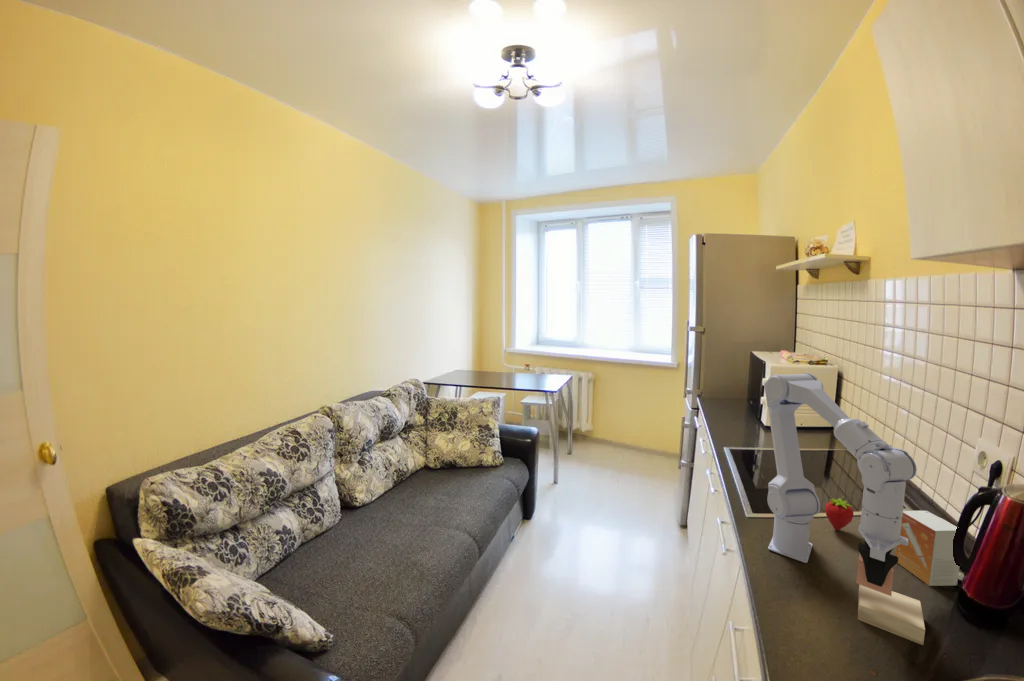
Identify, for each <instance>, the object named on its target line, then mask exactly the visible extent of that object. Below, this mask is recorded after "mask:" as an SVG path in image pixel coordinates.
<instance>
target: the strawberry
mask: <svg viewBox="0 0 1024 681" xmlns="http://www.w3.org/2000/svg"><path fill="white" fill-rule="evenodd" d="M842 498H844V496H841V498H840V497H839V498H837V499H836V498H832V497H831V498H830V499H829V498H828V499H827V500H828V502H826V504H825V507H824V510H825V515H826V517H827V519H828V522H829V523H830V524H831V526H832V527H833V529H834V530H835V531H840V530H842V529H843V528H845V527H846V526H848V525H849V524H851V522H852V520H853V518H854V516H855V515H854V509H853V508H854V506H852V505H850V504H849V503H847V502H848V501H847V500H842Z"/></svg>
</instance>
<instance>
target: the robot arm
mask: <svg viewBox="0 0 1024 681" xmlns="http://www.w3.org/2000/svg"><path fill="white" fill-rule="evenodd" d="M763 387H764V393H765V398H766V405H767V406H766V407H767V409H768V410H767V412H768V417H769V424H770V430H771V431H770V432H771V438H772V439H771V440H772V445H773V452H774V458H775V466H776V476H775V477H774V478H773V479H771V480H770V481H769V482H768V485H767V487H768V493H767V497H766V498H767V499H766V500H767V501H766V502H767V506H768V508H769V509H770V511H771V512H772V513H773V515H774V521H773V530H772V532H773V533H772V537H771V540H770V543H769V544H768V547H767V549H768V550H769V551H772V552H774V553H776V554H779V555H782V556H785V557H788V558H789V559H793V560H796V561H798V562H802V563H804V564H808V561H809V559H810V555H811V552H812V548H813V543H812V542H810V541H809V540H810V529H811V528H810V527H811V521H812V520H814V516H815V515H818V514H819V513H820V511H821V506H822V505H821V500H820V499H819V496H818V495H817V491H816V487H815V484H813V483H812V482H811V481H809V480H808V479H807V478H805V476H804V469H803V464H802V457H801V456H802V454H801V449H800V443H799V436H798V431H797V430H798V429H797V424H796V423H797V422H796V417H795V416H796V415H795V412H796V411H797V410H798V409H799V408H800V407H801V406H803V405H807V406H808V407H809V408H811V409H812V410H813V411H814V412H815V413H816V414H817V415H819V416H820V417H821V418H822V419H823V420H824V421H826V422H827V423H828V424H829V425H830V426H832V427H833V435H834V437H835V439H836V440H837V441H839V443H841V445H842V446H843V447H844V448H846V449H847V451H848V452H849V453H850V454H851V455H852V456H854V458H856V459H857V460H856V461H857V462H856V463H857V468H858V470H859V472H860V474H861V483H862V485H863V492H862V502H861V503H862V504H861V512H860V524H859V525H858V532H859V533H860V535H861V536H862V539H863V543H862V542H858V544H857V550H858V554H859V553H860V555H861V557H862V559H863V562H864V566H865V573H866V579H867V582H869V583H872V584H875V585H877V586H880V587H882V585H883V584H884V582H885V579H886V577H887V574H888V572H889V571H890V569H891V568H892V567H893V566H894V567H895V566H896V565H897V564H898V557H897V556H895V555H893V554H891V552H892V551H893V550H894V548H896V547H897V545H899V544H902V545H905V546H908V539H907V538H905V537H902V536H900V533H901V523H902V515H903V511H904V505H905V504H904V503H905V497H906V496H905V494H906V485H907V481H909V480H912V479H913V478H915V476H916V474H917V468H918V467H917V464H916V462H915V460H914V459H913V457H912V456H911V455H910V454H909V453H908V451H906V450H904V449H902V448H898V447H894V446H892V445H891V444H888V443H887V442H886V441H884V439H882V438H881V437H879V436H878V434H876V433H875V432H874V431H873V430H872V429H871V428H870V427H869V426H870V425H869V424H868V423H867V422H865V421H864V420H863V421H862V420H860V419H858V418H850V417H849V415H847V414H846V412H844V410H842V408H841V407H840V406H839V405H838V404H837V403H836V402H835V401H834V399H832V398H831V396H829V395H828V393H827V392H826V391H825V390H824V384H823V382H822V381H821V380H819V379H818V377H817V376H815V374H812V373H810V372H809V373H808V372H807V373H805V372H804V373H797V374H795V373H794V374H771V375H770V376H769V377H768V379H767V380H766V382H764V386H763Z"/></svg>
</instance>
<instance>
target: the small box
mask: <svg viewBox="0 0 1024 681" xmlns="http://www.w3.org/2000/svg"><path fill="white" fill-rule="evenodd" d="M957 527H958V526H956V525H955V524H952V523H951V522H949V521H947V520H946V519H944V518H941V517H939V516H938V515H936V514H934V513H932V512H930V511H928V510H903V515H902V523H901V533H900V536H902V537H905V538H907V539H908V546H905V545H902V544H899V545H897V546H896V547H895V548H896V549H895V555H894V556H897V557H898V563H897V564H898V565H899V566H901V567H902V568H904V569H905V570H906V571H908V572H909V573H911V574H913V575H914V577H916V578H918V579H919V580H920V581H922V582H924V583H925V584H926V585H927V586H929V587H933V586H935V587H938V586H939V587H941V586H942V587H944V586H945V587H946V586H947V587H949V586H950V587H951V586H952V587H953V586H955V587H956V586H957V585H958V581H959V573H960V572H959V571H960V566H958V565H956V563H955V561H954V557H953V539H954V536H955V533H956V529H957Z"/></svg>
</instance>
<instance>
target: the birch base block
mask: <svg viewBox="0 0 1024 681" xmlns="http://www.w3.org/2000/svg"><path fill="white" fill-rule="evenodd" d="M858 586H859V587H858V596H857V597H858V598H857V599H858V600H857V601H858V602H857V604H858V608H857V620H858V621H860V622H863V623H865V624H867V625H871V626H873V627H877V628H879V629H881V630H884V631H886V632H889V633H891V634H893V635H896V636H898V637H901V638H903V639H906V640H908V641H911V642H914V643H916V644H918V645H922V646H924V643H925V642H924V641H925V636H926V635H925V634H926V627H925V622H924V620H925V619H924V615H923V609H922V605H921V604H922V603H921V600H919V599H916V598H913V597H910V596H908V595H905V594H901V593H899V592H896V591H893V590H892V594H891V596H889V595H886V594H884V593H881V592H878V591H876V590H873V589H870V588H868V587H865V586H862V585H859V584H858Z"/></svg>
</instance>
